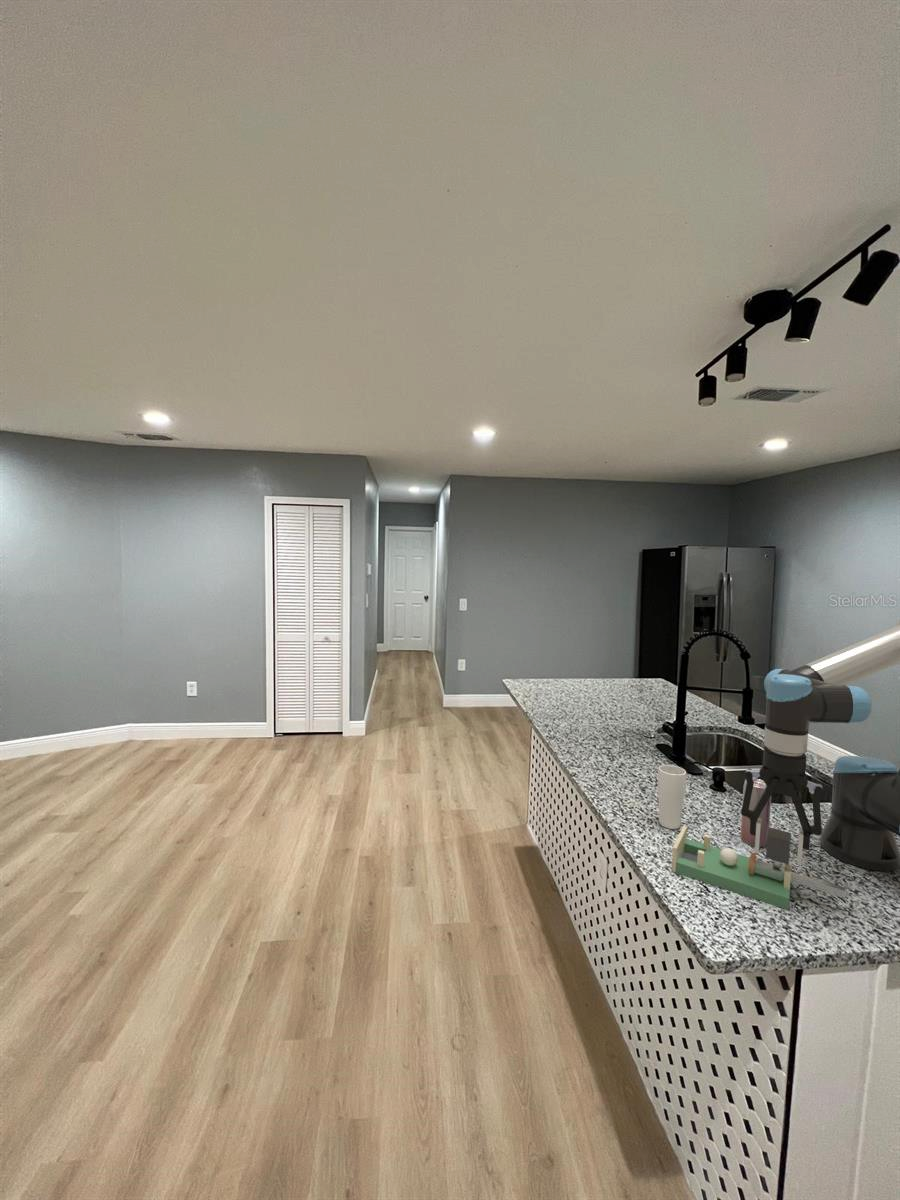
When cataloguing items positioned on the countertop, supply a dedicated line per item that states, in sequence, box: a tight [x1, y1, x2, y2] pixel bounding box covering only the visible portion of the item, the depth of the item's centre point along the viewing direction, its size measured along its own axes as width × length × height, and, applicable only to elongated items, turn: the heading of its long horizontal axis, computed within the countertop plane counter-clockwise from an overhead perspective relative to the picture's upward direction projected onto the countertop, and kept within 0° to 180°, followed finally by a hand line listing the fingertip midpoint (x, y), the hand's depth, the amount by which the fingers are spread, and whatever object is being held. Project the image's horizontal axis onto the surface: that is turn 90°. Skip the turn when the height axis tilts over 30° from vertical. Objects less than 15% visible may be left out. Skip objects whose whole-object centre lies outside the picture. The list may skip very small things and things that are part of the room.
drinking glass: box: [657, 764, 687, 830], centre depth 136 cm, size 7×7×15 cm
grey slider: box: [748, 826, 846, 899], centre depth 108 cm, size 16×4×9 cm, turn 55°
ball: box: [720, 847, 738, 866], centre depth 115 cm, size 4×4×4 cm
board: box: [671, 825, 793, 911], centre depth 115 cm, size 22×12×6 cm, turn 55°
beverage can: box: [740, 778, 772, 848], centre depth 129 cm, size 6×6×15 cm
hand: (777, 855), depth 110 cm, fingers open, 7 cm apart
